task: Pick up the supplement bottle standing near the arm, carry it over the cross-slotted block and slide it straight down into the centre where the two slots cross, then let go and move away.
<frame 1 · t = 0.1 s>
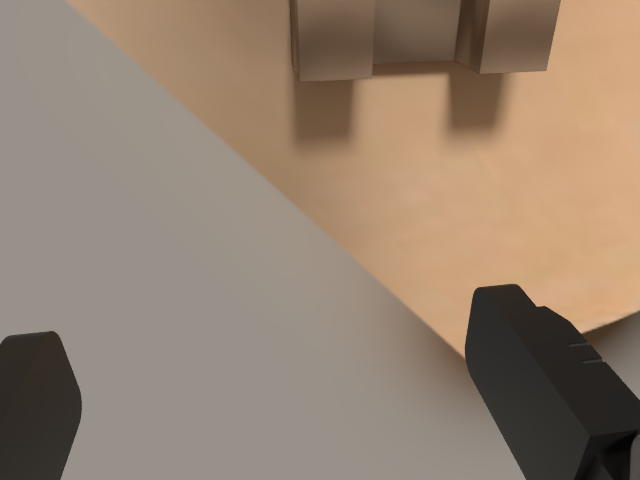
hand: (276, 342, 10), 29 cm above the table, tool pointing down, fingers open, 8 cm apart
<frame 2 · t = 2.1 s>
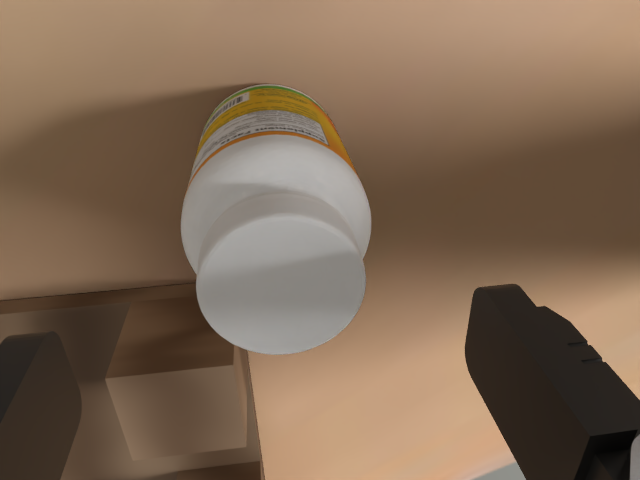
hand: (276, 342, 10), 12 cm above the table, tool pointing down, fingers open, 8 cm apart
supplement bottle: (270, 148, 20), on the table
cross slot block: (100, 420, 26), on the table
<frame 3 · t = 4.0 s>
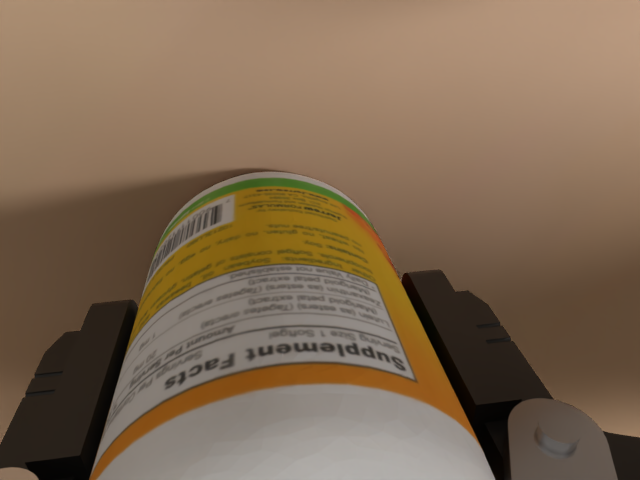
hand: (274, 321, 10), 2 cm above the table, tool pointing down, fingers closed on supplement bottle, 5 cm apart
supplement bottle: (270, 264, 12), on the table, touching gripper
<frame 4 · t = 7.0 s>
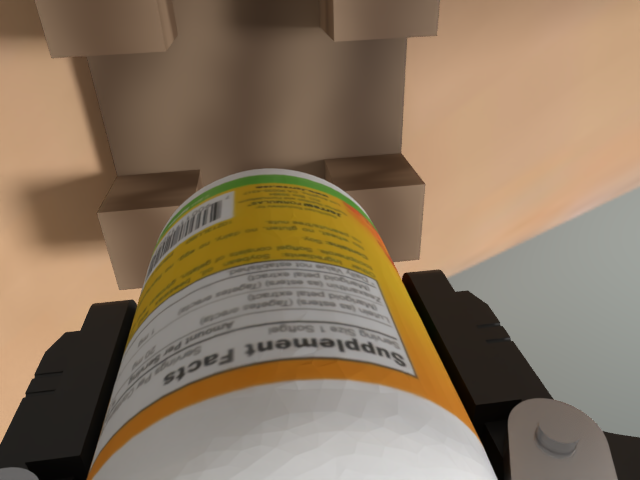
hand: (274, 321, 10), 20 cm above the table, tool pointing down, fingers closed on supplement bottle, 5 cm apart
supplement bottle: (270, 262, 12), point 17 cm above the table, touching gripper
cross slot block: (256, 97, 27), on the table
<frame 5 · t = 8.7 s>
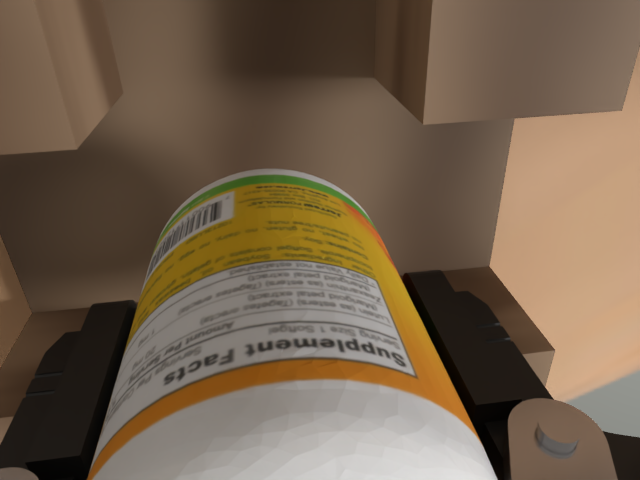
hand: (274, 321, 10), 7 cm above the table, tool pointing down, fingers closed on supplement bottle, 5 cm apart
supplement bottle: (270, 262, 12), point 5 cm above the table, touching gripper
cross slot block: (261, 185, 17), on the table
when the fingers open (4 cm above the table, at t = 10.1 s): supplement bottle drops 1 cm, resting on cross slot block.
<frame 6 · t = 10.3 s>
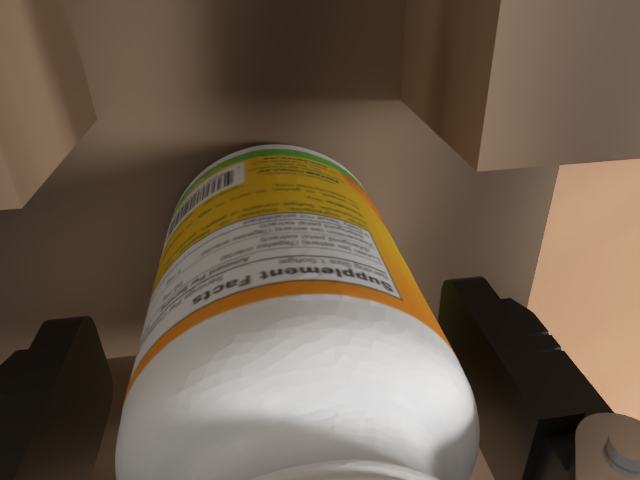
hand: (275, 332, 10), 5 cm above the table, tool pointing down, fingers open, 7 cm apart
supplement bottle: (275, 232, 13), point 1 cm above the table, touching cross slot block
cross slot block: (264, 222, 14), on the table
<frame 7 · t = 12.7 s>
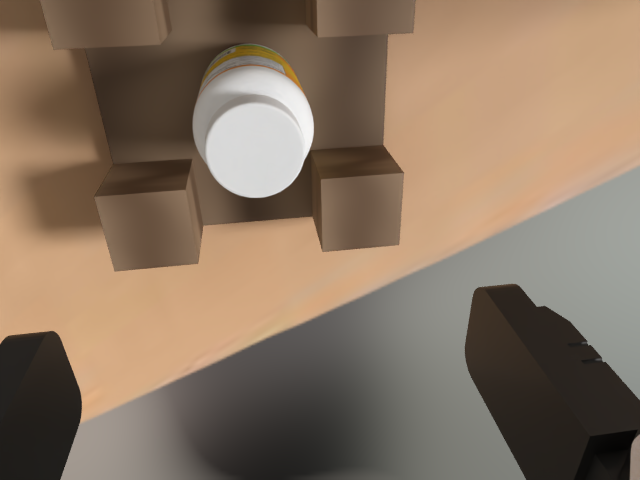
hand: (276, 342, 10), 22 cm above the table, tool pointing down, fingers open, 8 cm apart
supplement bottle: (251, 92, 28), point 1 cm above the table, touching cross slot block
cross slot block: (246, 90, 29), on the table
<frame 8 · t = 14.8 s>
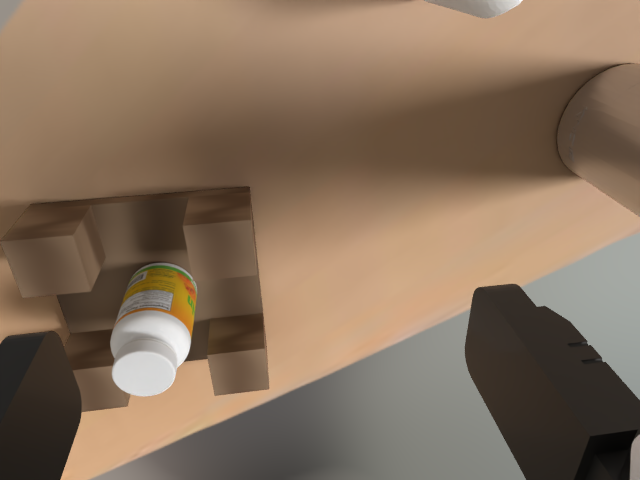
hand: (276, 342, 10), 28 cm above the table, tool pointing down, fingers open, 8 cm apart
supplement bottle: (164, 287, 41), point 1 cm above the table, touching cross slot block
cross slot block: (162, 282, 42), on the table
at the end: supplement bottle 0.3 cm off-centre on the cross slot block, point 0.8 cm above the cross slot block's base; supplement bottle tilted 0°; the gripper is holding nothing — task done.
